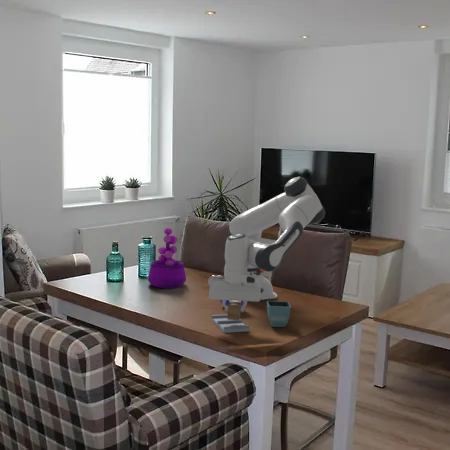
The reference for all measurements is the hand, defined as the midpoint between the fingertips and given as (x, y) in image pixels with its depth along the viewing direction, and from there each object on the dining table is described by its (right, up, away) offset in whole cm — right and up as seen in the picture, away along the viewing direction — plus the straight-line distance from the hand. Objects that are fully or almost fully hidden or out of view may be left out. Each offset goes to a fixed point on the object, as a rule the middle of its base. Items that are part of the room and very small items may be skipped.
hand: (234, 311), depth 240 cm
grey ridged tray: (-2, -6, +5) cm, 8 cm away
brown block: (0, -2, 0) cm, 2 cm away
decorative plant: (-32, +2, +66) cm, 74 cm away
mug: (-1, -3, +29) cm, 30 cm away
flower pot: (+17, -7, +7) cm, 20 cm away
